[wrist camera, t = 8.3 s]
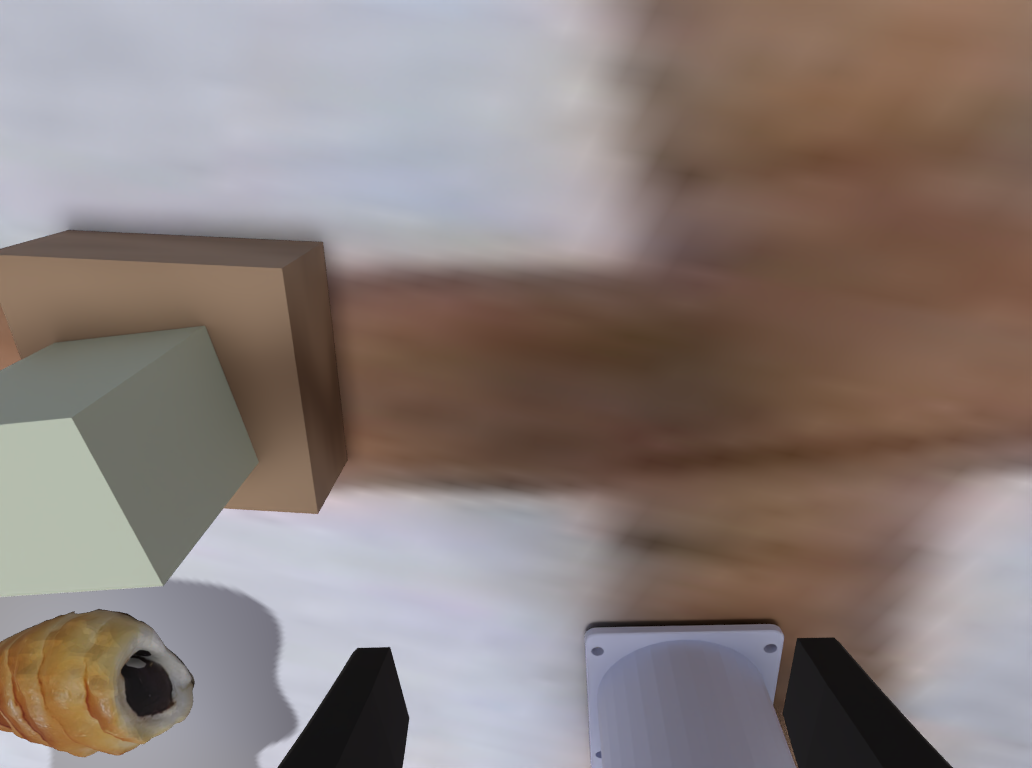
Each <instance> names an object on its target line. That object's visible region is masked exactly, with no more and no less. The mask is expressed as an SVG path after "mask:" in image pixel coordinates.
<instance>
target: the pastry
mask: <svg viewBox="0 0 1032 768" xmlns="http://www.w3.org/2000/svg"><path fill="white" fill-rule="evenodd" d="M194 684H195V681H194V677H193V675H192V674H191V673H190V671H189V670H188V669H187V667H186V666H185V664H184V663H183V662H182V660H181V659H180V658H179V657H178V656H176V654H174V653H173V652H172V651H170V650H169V649H168V648H166V646H165V645H164V644H163V642H162V640H161V639H160V638H159V636H158V635H157V633H156V632H155V631H154V630H153V628H151V627H150V626H148V625H147V624H146V623H144V622H142V621H138V620H137V619H135V618H134V617H132V616H131V615H129V614H127V613H121V612H114V611H108V610H101V609H98V610H95V611H91V612H87V613H81V614H75V613H74V612H71V613H68V614H66V615H60V616H58V617H55V618H53V619H50V620H46V621H44V622H42V623H40V624H38V625H34V626H33V627H30V628H27V629H25V630H23V631H21V632H19V633H17V634H15V635H13V636H11V637H9V638H7V639H5V640H3V641H1V642H0V730H2V731H6V732H13V733H14V734H15V735H16V736H18V737H20V738H23V739H26V740H28V741H30V742H33V743H38V744H43V745H45V746H49V747H53V748H54V749H57V750H58V751H65V752H68V753H70V754H72V755H75V756H78V757H86V756H89V755H91V754H94V753H95V752H97V751H101V752H105V753H108V754H113V755H121V754H124V753H125V752H128V751H130V750H132V749H134V748H136V747H137V746H138V745H140V744H145V743H146V742H148V741H149V740H150V739H151V738H153V737H156V736H158V735H160V734H162V733H163V732H165V731H167V730H168V729H170V728H171V727H172V726H173V725H174V724H176V723H180V722H182V721H183V720H185V718H186V717H187V716H188V714H189V713H190V710H191V708H192V705H193V694H192V690H193V687H194Z"/></svg>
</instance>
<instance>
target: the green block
mask: <svg viewBox="0 0 1032 768" xmlns="http://www.w3.org/2000/svg"><path fill="white" fill-rule="evenodd" d="M258 463H259V461H258V459H257V456H256V454H255V451H254V449H253V446H252V443H251V441H250V438H249V436H248V433H247V430H246V428H245V425H244V423H243V420H242V418H241V415H240V413H239V410H238V408H237V405H236V403H235V400H234V398H233V395H232V393H231V390H230V387H229V385H228V382H227V380H226V377H225V375H224V372H223V370H222V367H221V365H220V362H219V360H218V357H217V355H216V352H215V350H214V347H213V344H212V342H211V339H210V337H209V334H208V332H207V329H206V327H205V326H197V327H189V328H180V329H171V330H162V331H153V332H145V333H136V334H127V335H118V336H110V337H101V338H92V339H83V340H75V341H66V342H57V343H53V344H51V345H49V346H47V347H45V348H44V349H42V350H40V351H38V352H36V353H34V354H32V355H30V356H28V357H26V358H24V359H22V360H20V361H18V362H16V363H14V364H12V365H10V366H8V367H7V368H5V369H3V370H1V371H0V597H8V596H23V595H38V594H52V593H68V592H83V591H97V590H111V589H128V588H141V587H157V586H164V584H165V583H166V582H167V581H168V579H169V578H170V577H171V576H172V574H173V573H174V572H175V570H176V569H177V568H178V566H179V565H180V564H181V563H182V561H183V560H184V559H185V557H186V556H187V555H188V554H189V552H190V551H191V550H192V548H193V547H194V546H195V544H196V543H197V542H198V541H199V539H200V538H201V537H202V535H203V534H204V533H205V531H206V530H207V529H208V528H209V526H210V525H211V524H212V522H213V521H214V520H215V519H216V517H217V516H218V515H219V513H220V512H221V511H222V509H223V508H224V507H225V506H226V504H227V503H228V502H229V500H230V499H231V498H232V496H233V495H234V494H235V493H236V491H237V490H238V489H239V487H240V486H241V485H242V483H243V482H244V481H245V480H246V478H247V477H248V476H249V474H250V473H251V472H252V471H253V469H254V468H255V467H256V465H257V464H258Z"/></svg>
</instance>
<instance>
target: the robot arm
mask: <svg viewBox="0 0 1032 768" xmlns="http://www.w3.org/2000/svg"><path fill="white" fill-rule="evenodd" d="M783 642H784V635H783V633H782V630H781V629H780V627H779V626H777V625H774V624H743V625H694V626H645V627H596V628H591V629H589V630H588V631H587V632H586V633H585V655H586V676H587V697H588V717H589V738H590V759H591V768H796V766H795V763H794V761H793V758H792V755H791V753H790V750H789V747H788V745H787V742H786V739H785V736H784V734H783V731H782V728H781V726H780V723H779V720H778V718H777V715H776V712H775V709H774V707H773V703H774V697H775V691H776V685H777V679H778V672H779V666H780V660H781V654H782V648H783ZM768 644H769V645H768ZM595 647H599V648H595ZM783 716H784V719H785V723H786V726H787V730H788V733H789V737H790V741H791V744H792V748H793V751H794V754H795V757H796V761H797V764H798V767H799V768H953V767H952V766H951V765H950V764H949V763H948V762H947V761H946V760H945V759H944V758H943V757H942V756H941V755H940V754H939V753H938V752H937V751H936V750H935V748H934V747H933V746H932V745H931V744H930V743H929V742H928V741H927V740H926V739H925V738H924V737H923V736H922V735H921V734H920V733H919V731H918V730H917V729H916V728H915V727H914V726H913V725H912V724H911V723H910V722H909V721H908V719H907V718H906V717H905V716H904V715H903V714H902V713H901V712H900V711H899V709H898V708H897V707H896V706H895V705H894V704H893V703H892V702H891V701H890V700H889V698H888V697H887V696H886V695H885V694H884V693H883V692H882V691H881V689H880V688H879V687H878V686H877V685H876V684H875V683H874V682H873V680H872V679H871V678H870V677H869V676H868V675H867V674H866V672H865V671H864V670H863V669H862V668H861V667H860V666H859V664H858V663H857V662H856V661H855V660H854V659H853V657H852V656H851V655H850V654H849V653H848V652H847V651H846V649H845V648H844V647H843V646H842V645H841V644H840V643H839V642H838V641H837V640H836V639H835V638H797V642H796V647H795V653H794V658H793V663H792V668H791V673H790V679H789V684H788V689H787V694H786V700H785V705H784V710H783ZM408 723H409V715H408V712H407V708H406V704H405V701H404V697H403V693H402V689H401V686H400V682H399V678H398V675H397V671H396V667H395V664H394V660H393V656H392V652H391V649H390V647H381V648H357V649H356V650H355V651H354V652H353V653H352V655H351V657H350V658H349V660H348V662H347V663H346V665H345V666H344V668H343V670H342V671H341V673H340V674H339V676H338V678H337V679H336V681H335V682H334V684H333V686H332V687H331V689H330V690H329V692H328V693H327V695H326V697H325V698H324V700H323V701H322V703H321V704H320V706H319V707H318V709H317V710H316V712H315V713H314V715H313V716H312V718H311V719H310V721H309V723H308V724H307V726H306V727H305V729H304V730H303V731H302V733H301V734H300V736H299V737H298V739H297V740H296V742H295V743H294V744H293V746H292V747H291V749H290V750H289V752H288V753H287V755H286V756H285V758H284V759H283V760H282V762H281V763H280V765H279V766H278V768H402V766H403V760H404V753H405V746H406V738H407V731H408Z"/></svg>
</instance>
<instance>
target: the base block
mask: <svg viewBox="0 0 1032 768" xmlns="http://www.w3.org/2000/svg"><path fill="white" fill-rule="evenodd" d="M0 304H1V307H2V309H3V312H4V315H5V317H6V320H7V323H8V325H9V328H10V331H11V333H12V336H13V339H14V341H15V344H16V347H17V349H18V352H19V355H20V357H21V360H22V359H24V358H26V357H28V356H30V355H32V354H34V353H36V352H38V351H40V350H42V349H44V348H45V347H47V346H49V345H51V344H53V343H57V342H66V341H75V340H83V339H92V338H101V337H110V336H118V335H127V334H136V333H145V332H153V331H162V330H171V329H180V328H189V327H197V326H205V327H206V329H207V332H208V334H209V337H210V339H211V342H212V344H213V347H214V350H215V352H216V355H217V357H218V360H219V362H220V365H221V367H222V370H223V372H224V375H225V377H226V380H227V382H228V385H229V387H230V390H231V393H232V395H233V398H234V400H235V403H236V405H237V408H238V410H239V413H240V415H241V418H242V420H243V423H244V425H245V428H246V430H247V433H248V436H249V438H250V441H251V443H252V446H253V449H254V451H255V454H256V456H257V459H258V461H259V463H258V464H257V465H256V467H255V468H254V469H253V471H252V472H251V473H250V474H249V476H248V477H247V478H246V480H245V481H244V482H243V483H242V485H241V486H240V487H239V489H238V490H237V491H236V493H235V494H234V495H233V496H232V498H231V499H230V500H229V502H228V503H227V504H226V506H225V507H224V508H227V509H244V510H261V511H278V512H295V513H311V514H318V513H319V511H320V509H321V507H322V506H323V504H324V502H325V500H326V498H327V496H328V495H329V493H330V491H331V489H332V487H333V486H334V484H335V482H336V480H337V478H338V476H339V475H340V473H341V471H342V469H343V467H344V466H345V464H346V462H347V453H346V444H345V435H344V426H343V417H342V408H341V399H340V390H339V381H338V372H337V363H336V354H335V345H334V337H333V328H332V319H331V310H330V301H329V292H328V283H327V274H326V265H325V256H324V247H323V242H311V241H290V240H268V239H247V238H226V237H205V236H184V235H162V234H141V233H120V232H99V231H77V230H67V231H63V232H60V233H56V234H52V235H49V236H45V237H42V238H38V239H34V240H31V241H27V242H24V243H20V244H16V245H13V246H9V247H5V248H2V249H0Z"/></svg>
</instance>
